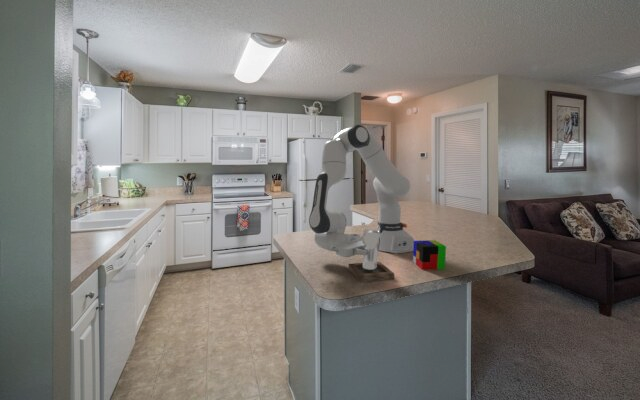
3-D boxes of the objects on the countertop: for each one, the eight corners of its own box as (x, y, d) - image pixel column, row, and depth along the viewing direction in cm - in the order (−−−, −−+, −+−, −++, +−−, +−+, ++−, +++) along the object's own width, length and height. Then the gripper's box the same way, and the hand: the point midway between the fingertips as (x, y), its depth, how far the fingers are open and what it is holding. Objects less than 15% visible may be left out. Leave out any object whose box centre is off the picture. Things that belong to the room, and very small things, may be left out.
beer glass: (365, 264, 128) (367, 229, 126) (381, 267, 124) (383, 231, 122) (357, 268, 122) (360, 231, 121) (373, 272, 118) (376, 233, 117)
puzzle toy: (412, 262, 139) (413, 240, 137) (434, 261, 139) (435, 240, 138) (421, 269, 129) (423, 246, 128) (444, 269, 130) (446, 246, 128)
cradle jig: (379, 267, 131) (379, 261, 131) (394, 279, 118) (394, 273, 118) (348, 269, 129) (348, 263, 128) (359, 282, 115) (359, 275, 115)
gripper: (329, 241, 123) (356, 248, 114) (359, 233, 138) (386, 239, 128) (329, 256, 124) (356, 264, 114) (359, 247, 139) (385, 253, 129)
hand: (372, 251), depth 121 cm, fingers closed on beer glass, 6 cm apart
